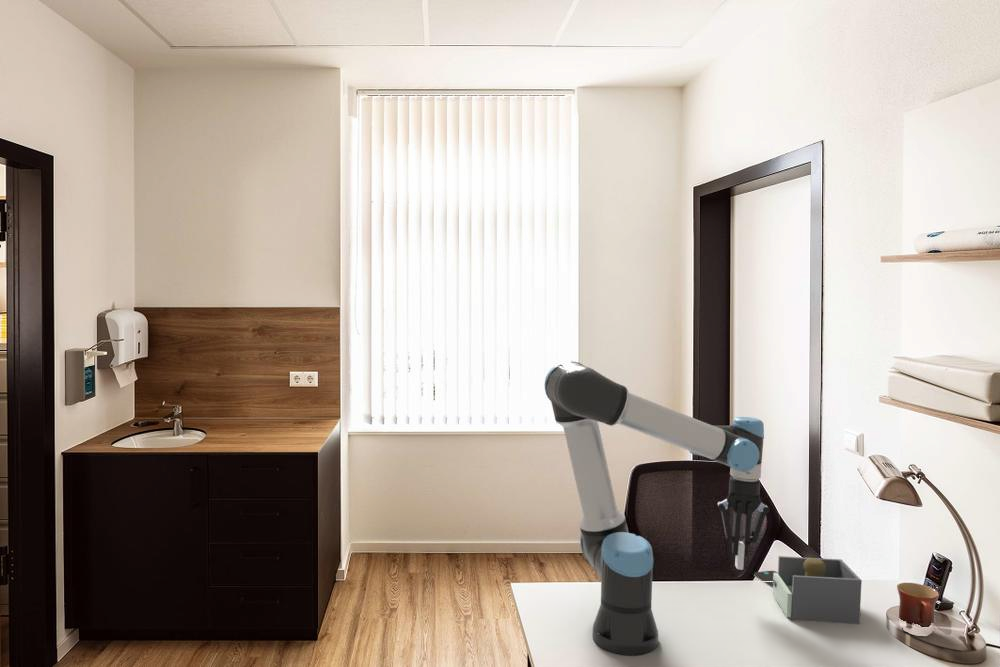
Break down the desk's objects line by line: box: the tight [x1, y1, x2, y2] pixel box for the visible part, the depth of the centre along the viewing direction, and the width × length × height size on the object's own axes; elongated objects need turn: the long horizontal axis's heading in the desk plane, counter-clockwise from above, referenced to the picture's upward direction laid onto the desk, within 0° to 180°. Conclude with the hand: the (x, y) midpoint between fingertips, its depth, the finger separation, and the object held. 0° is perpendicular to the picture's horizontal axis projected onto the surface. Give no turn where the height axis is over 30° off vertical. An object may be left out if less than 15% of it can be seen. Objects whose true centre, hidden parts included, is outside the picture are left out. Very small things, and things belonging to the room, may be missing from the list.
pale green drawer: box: [772, 573, 792, 618], centre depth 183 cm, size 15×13×6 cm
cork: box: [804, 557, 826, 577], centre depth 183 cm, size 6×6×11 cm
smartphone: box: [753, 570, 778, 589], centre depth 199 cm, size 8×1×15 cm
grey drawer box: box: [777, 555, 862, 625], centre depth 183 cm, size 16×14×11 cm
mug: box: [896, 582, 940, 627], centre depth 170 cm, size 12×9×10 cm
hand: (739, 567), depth 184 cm, fingers closed
